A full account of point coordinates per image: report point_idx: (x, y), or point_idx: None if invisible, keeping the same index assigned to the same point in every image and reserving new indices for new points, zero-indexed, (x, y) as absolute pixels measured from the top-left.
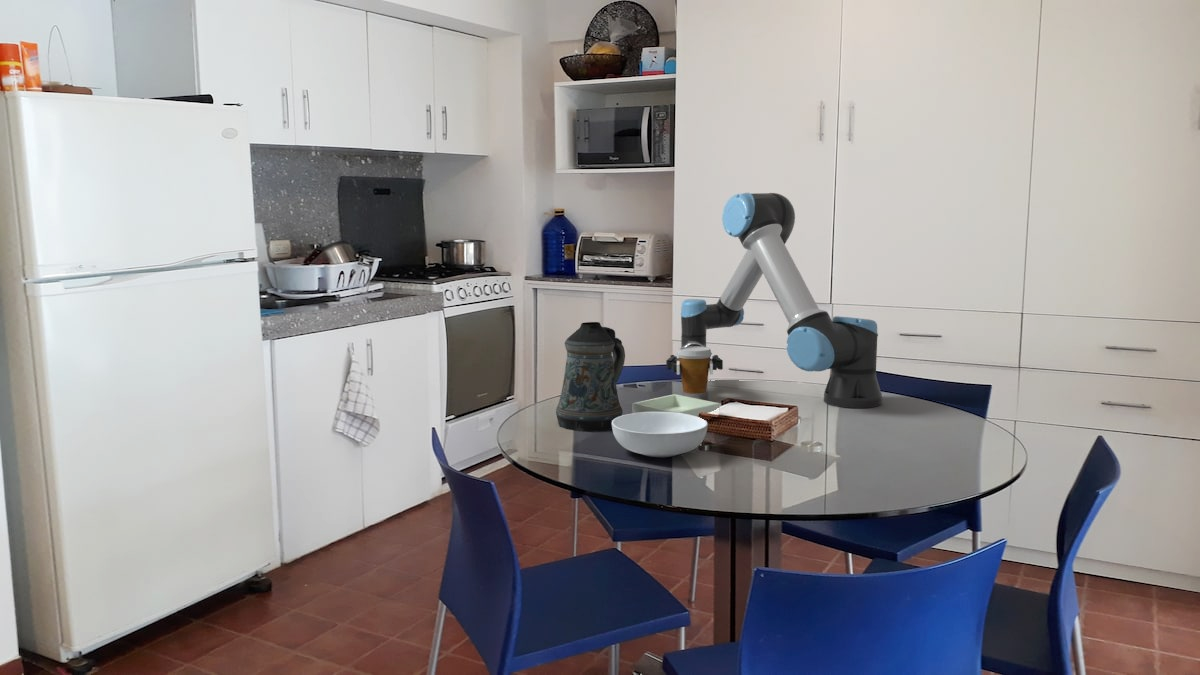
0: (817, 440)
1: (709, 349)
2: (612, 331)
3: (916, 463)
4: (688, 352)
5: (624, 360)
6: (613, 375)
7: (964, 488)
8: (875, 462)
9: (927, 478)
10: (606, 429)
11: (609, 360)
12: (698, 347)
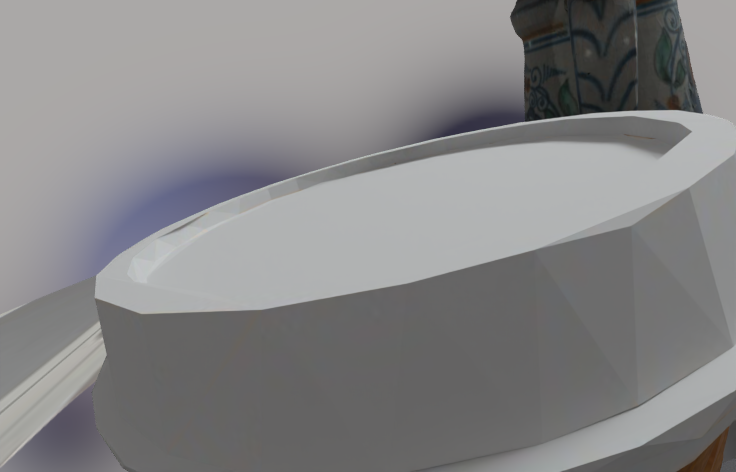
0: (94, 343)
1: (158, 231)
2: None
3: (19, 327)
4: (411, 159)
5: (577, 74)
6: (528, 108)
7: (45, 297)
8: (77, 309)
9: (59, 300)
10: None
11: (525, 62)
12: (371, 294)
